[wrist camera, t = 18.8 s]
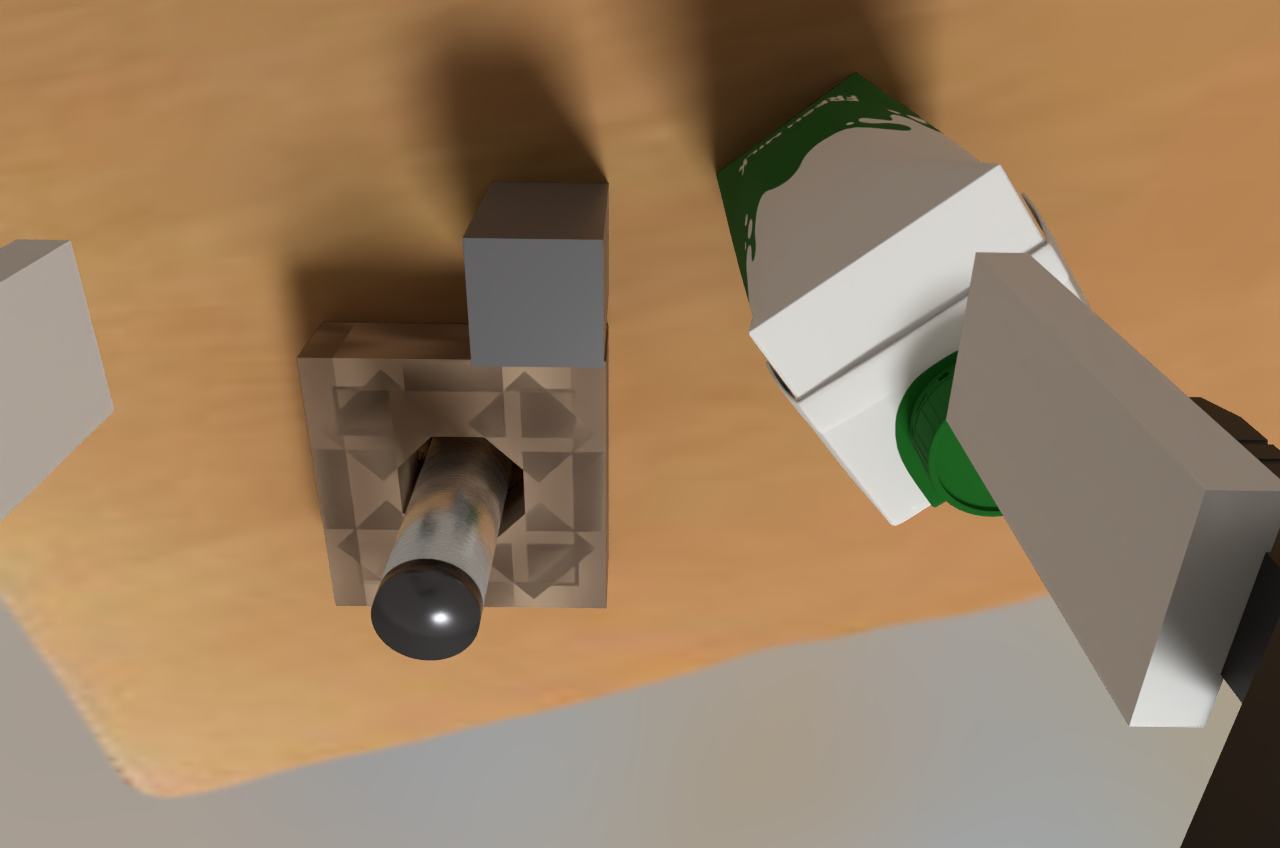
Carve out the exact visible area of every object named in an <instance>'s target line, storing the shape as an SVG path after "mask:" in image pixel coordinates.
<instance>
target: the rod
mask: <svg viewBox="0 0 1280 848" xmlns="http://www.w3.org/2000/svg"><path fill="white" fill-rule="evenodd" d="M512 464H513V461H512V460H511V459H510V458H508V457H507V456H506V455H505V454H504V453H503V452H501V451H500V450H499V449H498V448H497V447H495V446H494V445H493V444H492V443H491V442H489V441H488V440H487V439H486V438H485V437H433V439H432V441H431V444H430V447H429V450H428V452H427V455H426V458H425V461H424V463H423V466H422V469H421V472H420V474H419V477H418V480H417V483H416V485H415V488H414V491H413V494H412V496H411V499H410V502H409V505H408V507H407V510H406V513H405V516H404V518H403V521H402V524H401V527H400V529H399V532H398V535H397V538H396V540H395V543H394V546H393V549H392V551H391V554H390V557H389V560H388V562H387V565H386V568H385V571H384V573H383V576H382V579H381V582H380V584H379V587H378V590H377V593H376V595H375V598H374V601H373V604H372V608H371V619H372V624H373V626H374V629H375V631H376V633H377V634H378V636H379V637H380V638H381V640H382V641H383V642H384V643H385V644H386V645H388V646H389V647H390V648H391V649H393V650H395V651H396V652H398V653H400V654H402V655H405V656H407V657H410V658H414V659H420V660H441V659H446V658H449V657H452V656H455V655H457V654H459V653H460V652H462V651H463V650H465V649H466V648H467V647H468V646H469V645H470V644H471V643H472V642H473V640H474V639H475V637H476V635H477V633H478V630H479V625H480V620H481V615H482V610H483V605H484V600H485V595H486V591H487V586H488V581H489V576H490V571H491V566H492V561H493V557H494V552H495V547H496V542H497V537H498V532H499V527H500V522H501V518H502V513H503V508H504V503H505V498H506V493H507V488H508V483H509V479H510V474H511V469H512Z"/></svg>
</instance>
